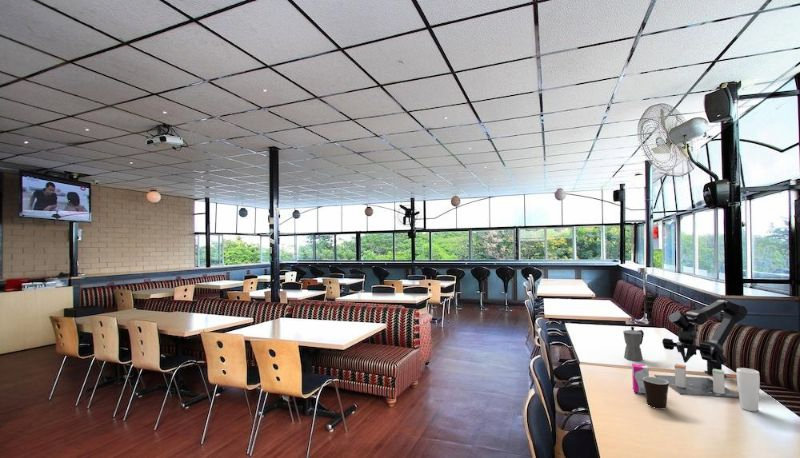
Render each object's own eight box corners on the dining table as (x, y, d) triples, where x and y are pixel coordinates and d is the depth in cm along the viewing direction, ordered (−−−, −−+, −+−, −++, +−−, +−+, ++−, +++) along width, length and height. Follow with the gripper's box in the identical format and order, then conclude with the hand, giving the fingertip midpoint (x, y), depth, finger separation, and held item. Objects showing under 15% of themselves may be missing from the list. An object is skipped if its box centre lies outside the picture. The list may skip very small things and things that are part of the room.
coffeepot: (633, 362, 212) (632, 329, 213) (617, 358, 220) (616, 326, 221) (652, 359, 218) (651, 327, 219) (636, 355, 226) (635, 324, 227)
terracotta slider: (676, 384, 177) (675, 363, 177) (686, 386, 174) (685, 365, 174) (675, 386, 174) (674, 365, 175) (685, 388, 172) (684, 367, 172)
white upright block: (714, 390, 169) (713, 368, 170) (725, 392, 167) (724, 370, 167) (713, 392, 167) (712, 370, 168) (724, 394, 164) (723, 372, 165)
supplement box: (647, 390, 171) (646, 364, 171) (649, 395, 165) (649, 368, 166) (632, 388, 173) (631, 362, 174) (634, 393, 168) (633, 366, 168)
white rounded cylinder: (765, 413, 147) (763, 373, 148) (745, 412, 149) (743, 372, 149) (753, 406, 154) (751, 368, 155) (733, 405, 155) (732, 367, 156)
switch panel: (654, 375, 190) (654, 374, 190) (708, 378, 186) (708, 377, 186) (680, 394, 166) (680, 393, 166) (743, 398, 162) (743, 397, 162)
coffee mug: (661, 412, 149) (660, 385, 149) (639, 404, 157) (638, 378, 157) (678, 406, 154) (677, 380, 155) (655, 398, 162) (655, 374, 162)
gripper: (662, 321, 192) (658, 348, 183) (710, 326, 179) (708, 356, 170) (666, 334, 197) (662, 361, 189) (713, 340, 184) (711, 370, 176)
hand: (685, 362), depth 181 cm, fingers closed
